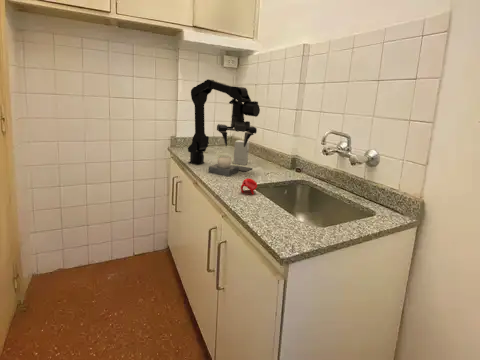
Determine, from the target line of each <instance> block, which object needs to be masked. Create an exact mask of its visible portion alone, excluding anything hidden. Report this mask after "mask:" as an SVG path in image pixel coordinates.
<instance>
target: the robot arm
mask: <svg viewBox="0 0 480 360" xmlns="http://www.w3.org/2000/svg"><path fill="white" fill-rule="evenodd" d="M213 90H215V91H218V92H220V93H224V94H226V95H228V96H229V97H230V98H232V99H231V100H230V101H229V102H228V104H231V105H232V109H231V110H232V111H231V121H230V126H228V125H226V124H220V123H218V124H217V125H216V131H217V132H219V133H220V134H222V138H223V142H224V146H225V147H228V146H227V145H228V132H227V131H232V132H233V131H235V132H242V133H244V136H243V137H244V139H243V141H244V147H245V146H246V144H247V141H249V140H250V137H252V136H254V135H255V134H257V132H258V131H257V128H256V127H255V126H251V123H250V121H248V120H246V121H245V116H247V117H255V118H256V117H258V116H259V114H260V113H261V110H260V109H261V108H260V105H259V101H256V100H254V101H252V99H251V98H250V95H249V93H248V89H247V88H246V87H242V86H241V87H240V86H235V85H233V86H232V85H228V84H226V83H222V82H218V81H216V80H214V79H206V80H203V82H202V83H199V84H197V85H196V86H194V87H193V86H192V89H191V90H190V97H191V100H192V102H193V104H194V135H193V137H192V140H191V144H190V145H189V146H188V147H187V151H188V153H190V154H189V155H190V156H189V161H188V164H193V165H203V164H205V154H204V152H206V150H207V148H208V147H209V144H210V142H209V139H210V136H207V134H206V132H205V104H206V102H207V100H208V95H209V94H211V93H212V91H213Z"/></svg>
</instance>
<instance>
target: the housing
mask: <svg viewBox="0 0 480 360" xmlns="http://www.w3.org/2000/svg"><path fill="white" fill-rule="evenodd" d="M239 166H240V165H234V164H231V167H230V168H220V167H218V163H216V164H215V163H214V164H213V165H210V166H208V174H213V175H219V176H223V175H224V177H231V176H233V175H235V174H237V173H239V171H238V169H239Z"/></svg>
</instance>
